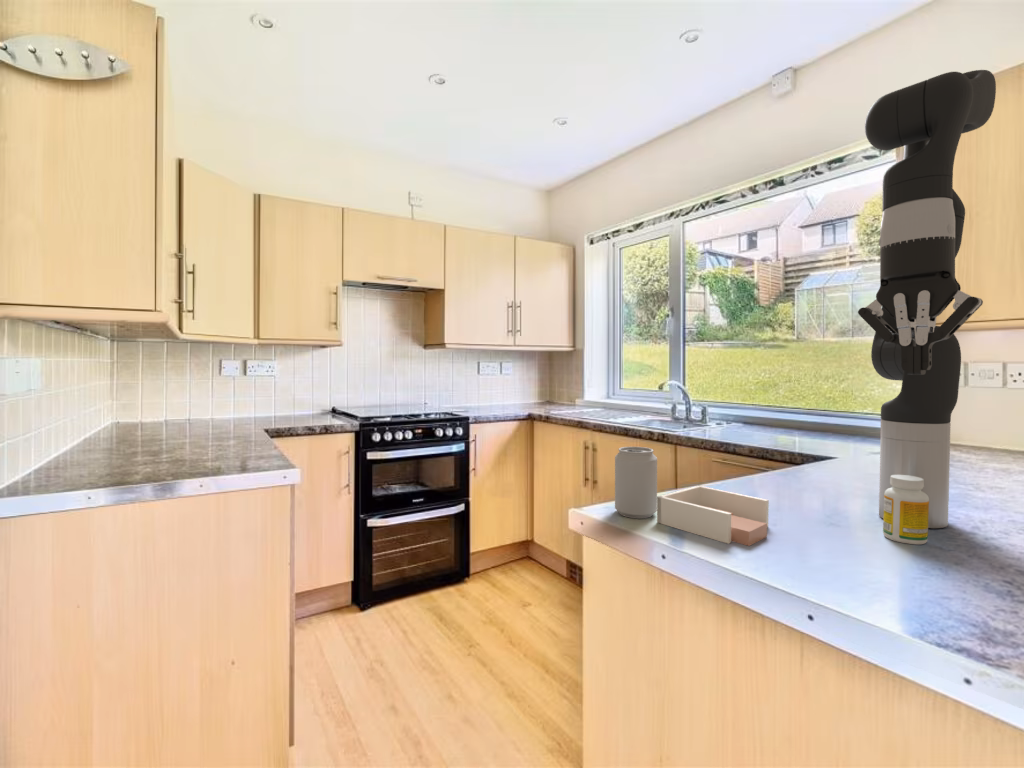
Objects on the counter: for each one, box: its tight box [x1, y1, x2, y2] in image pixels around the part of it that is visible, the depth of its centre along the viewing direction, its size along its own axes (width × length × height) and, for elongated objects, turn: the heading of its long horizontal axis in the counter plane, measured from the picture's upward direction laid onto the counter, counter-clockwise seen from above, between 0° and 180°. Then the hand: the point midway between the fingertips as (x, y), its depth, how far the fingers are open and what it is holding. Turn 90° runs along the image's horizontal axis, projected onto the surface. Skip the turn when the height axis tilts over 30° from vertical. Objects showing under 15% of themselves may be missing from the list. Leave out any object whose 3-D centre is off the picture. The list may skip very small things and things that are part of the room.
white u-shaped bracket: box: [656, 484, 770, 545], centre depth 82 cm, size 13×13×4 cm
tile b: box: [731, 515, 768, 547], centre depth 77 cm, size 6×6×2 cm
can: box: [614, 446, 658, 519], centre depth 89 cm, size 8×8×12 cm
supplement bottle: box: [882, 475, 929, 545], centre depth 75 cm, size 5×5×10 cm
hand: (916, 374), depth 64 cm, fingers closed
